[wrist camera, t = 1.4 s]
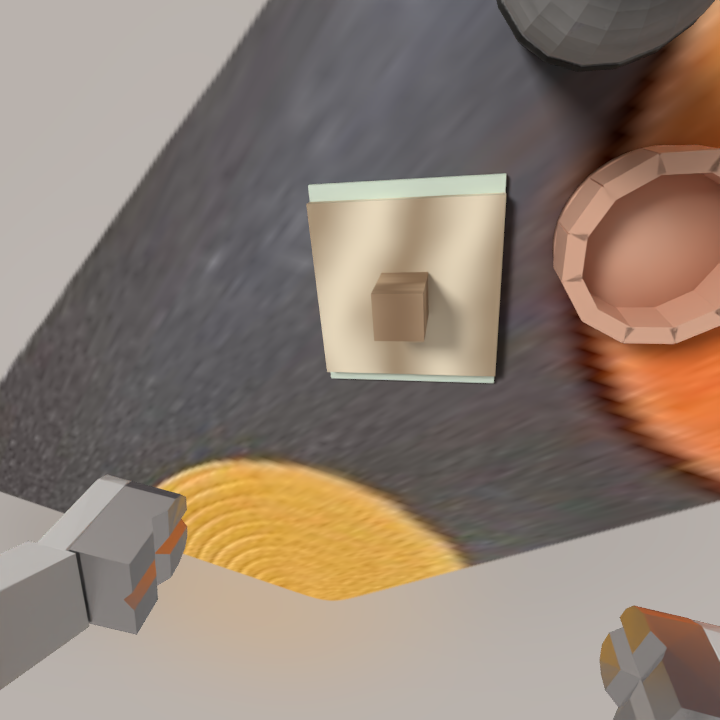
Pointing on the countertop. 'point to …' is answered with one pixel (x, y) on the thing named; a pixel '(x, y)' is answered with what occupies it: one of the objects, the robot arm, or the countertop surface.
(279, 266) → the countertop surface
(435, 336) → the cover
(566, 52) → the beverage cup
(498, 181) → the mat
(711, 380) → the countertop surface
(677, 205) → the bowl
